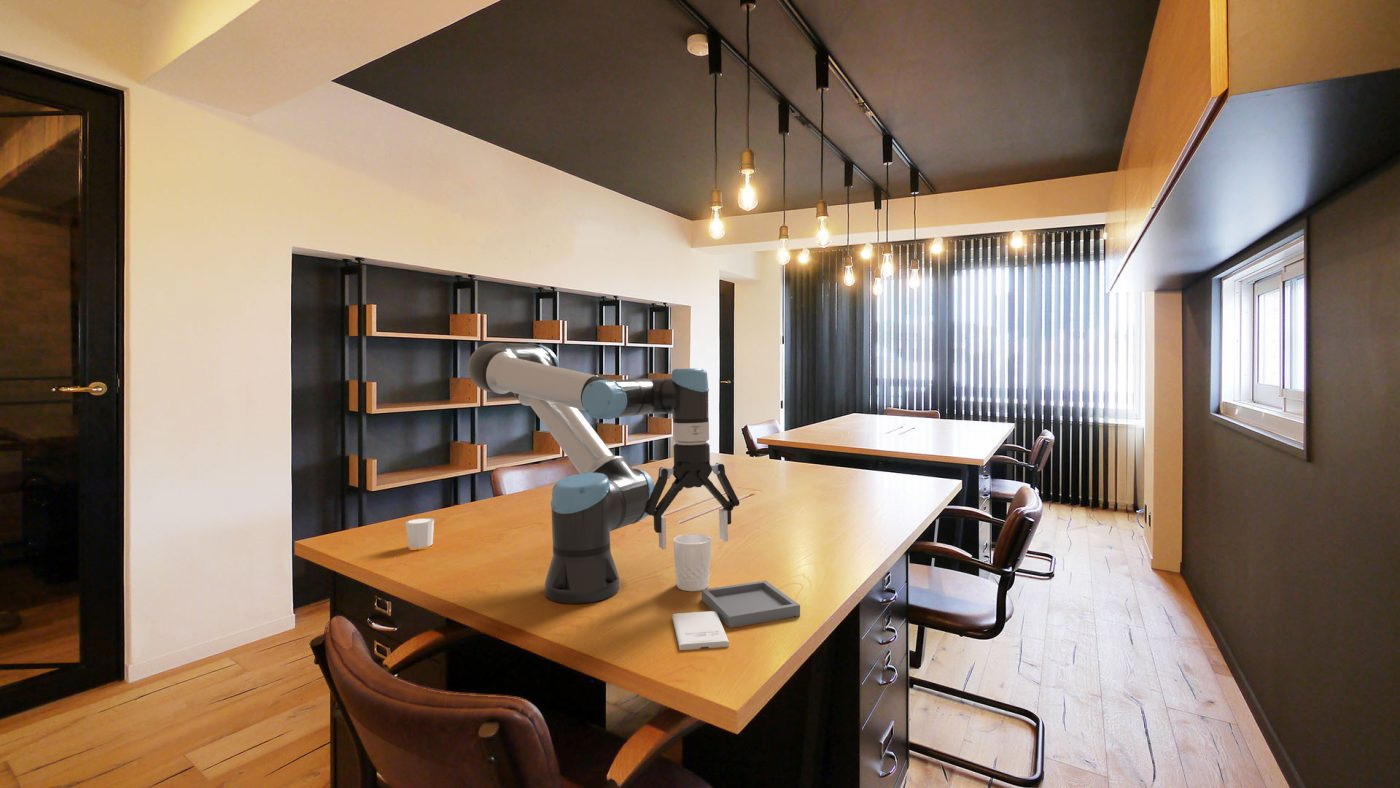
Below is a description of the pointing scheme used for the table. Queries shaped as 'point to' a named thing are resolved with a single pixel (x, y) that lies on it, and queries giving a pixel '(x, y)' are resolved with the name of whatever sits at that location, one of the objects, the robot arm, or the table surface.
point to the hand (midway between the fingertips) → (693, 544)
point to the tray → (749, 603)
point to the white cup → (692, 561)
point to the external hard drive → (699, 630)
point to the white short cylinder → (420, 532)
